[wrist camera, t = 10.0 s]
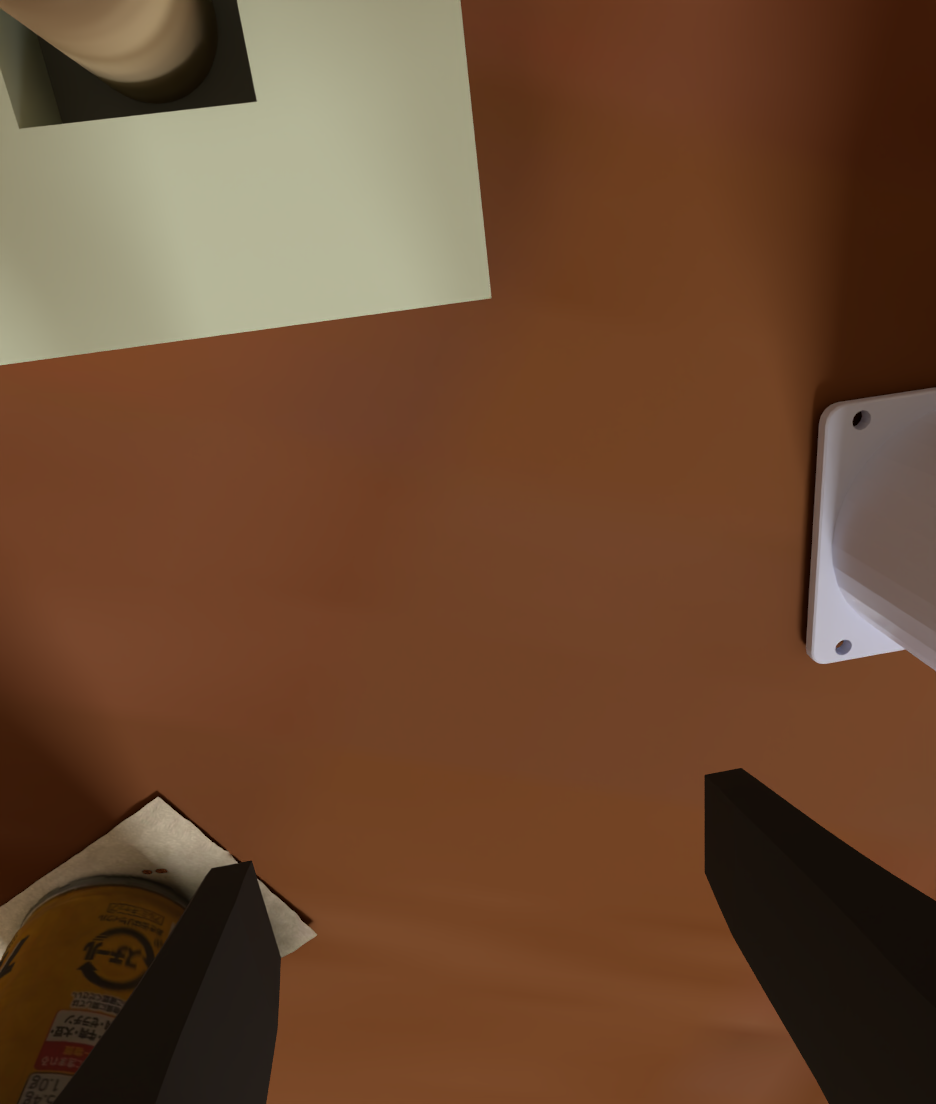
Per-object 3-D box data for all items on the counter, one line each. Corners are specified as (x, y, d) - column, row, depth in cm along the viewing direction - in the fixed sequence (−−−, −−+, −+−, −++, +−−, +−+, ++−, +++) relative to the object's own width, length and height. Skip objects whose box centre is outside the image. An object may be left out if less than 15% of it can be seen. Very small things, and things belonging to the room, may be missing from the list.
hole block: (393, -401, 13) (400, -575, 11) (472, 293, 18) (491, 298, 15) (-306, -354, 13) (-499, -531, 10) (-39, 362, 17) (-119, 381, 14)
